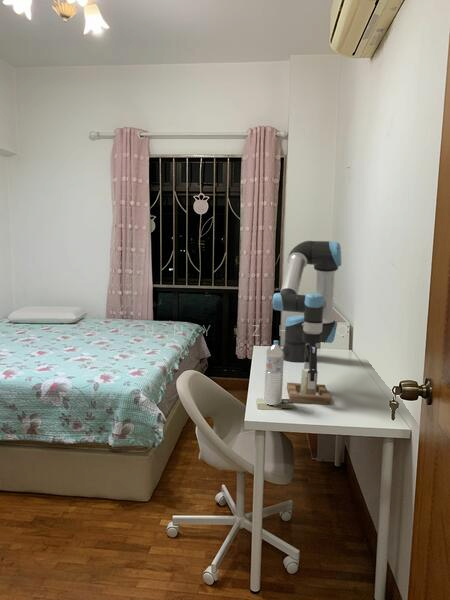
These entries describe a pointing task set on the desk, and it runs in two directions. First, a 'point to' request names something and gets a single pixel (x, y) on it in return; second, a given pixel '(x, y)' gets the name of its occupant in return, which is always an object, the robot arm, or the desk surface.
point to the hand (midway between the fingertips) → (308, 382)
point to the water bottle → (274, 375)
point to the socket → (304, 398)
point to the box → (304, 383)
